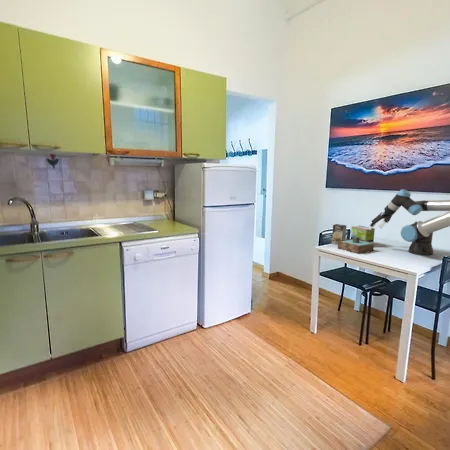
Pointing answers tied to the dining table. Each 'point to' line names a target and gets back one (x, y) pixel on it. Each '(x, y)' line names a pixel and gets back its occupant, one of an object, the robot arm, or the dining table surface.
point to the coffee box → (338, 233)
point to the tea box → (363, 233)
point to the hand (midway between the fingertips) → (374, 228)
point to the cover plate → (357, 242)
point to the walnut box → (355, 247)
